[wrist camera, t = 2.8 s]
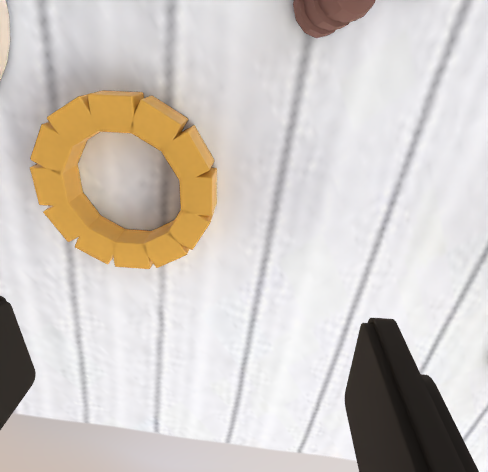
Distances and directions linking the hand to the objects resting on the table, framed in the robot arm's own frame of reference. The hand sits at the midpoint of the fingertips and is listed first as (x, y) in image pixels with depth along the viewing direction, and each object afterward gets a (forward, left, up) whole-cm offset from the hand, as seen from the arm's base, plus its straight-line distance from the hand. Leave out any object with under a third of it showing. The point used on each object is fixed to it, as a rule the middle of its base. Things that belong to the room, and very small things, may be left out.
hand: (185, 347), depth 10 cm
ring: (-7, -1, -15) cm, 16 cm away
